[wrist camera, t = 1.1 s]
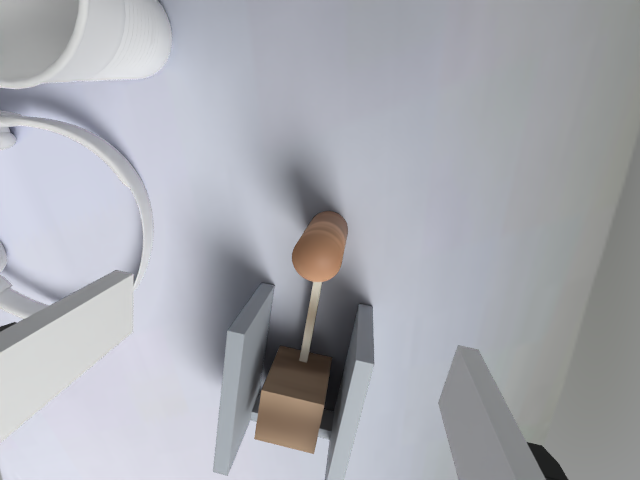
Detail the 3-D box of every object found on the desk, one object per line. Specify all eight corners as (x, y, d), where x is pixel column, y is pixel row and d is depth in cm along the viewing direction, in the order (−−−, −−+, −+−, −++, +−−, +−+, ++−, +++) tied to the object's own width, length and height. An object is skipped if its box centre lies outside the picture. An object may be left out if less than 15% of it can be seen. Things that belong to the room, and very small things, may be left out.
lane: (261, 282, 31) (227, 330, 23) (372, 306, 30) (374, 364, 23) (246, 398, 35) (213, 472, 27) (344, 422, 34) (337, 504, 27)
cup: (214, 90, 27) (116, 62, 16) (103, 117, 29) (-50, 107, 18) (176, -61, 24) (31, -209, 14) (56, -21, 26) (-153, -125, 16)
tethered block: (302, 205, 29) (281, 227, 22) (362, 217, 28) (360, 243, 22) (273, 388, 34) (250, 449, 28) (322, 400, 34) (311, 465, 27)
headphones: (-148, 297, 28) (108, 366, 31) (-169, 56, 22) (148, 167, 25) (-58, 261, 35) (145, 320, 37) (-56, 69, 29) (183, 155, 31)
